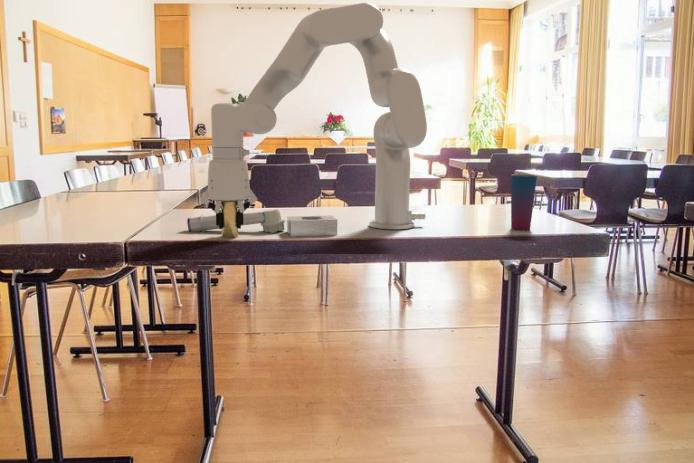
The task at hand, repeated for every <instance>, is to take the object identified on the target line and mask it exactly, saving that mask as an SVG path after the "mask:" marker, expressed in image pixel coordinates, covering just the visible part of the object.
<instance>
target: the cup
mask: <svg viewBox="0 0 694 463" xmlns="http://www.w3.org/2000/svg"><path fill="white" fill-rule="evenodd" d="M537 179H538V175H537V174H529V173H527V174H526V173H520V174H519V173H516V174H514V173H513V174H511V175H510V189H511V190H510V199H511V200H510V215H511V216H510V218H511V219H510V223H511V224H510V229H511V230H513V229H514V230H513V231H518V230H528V231H530V230H531V224H532V217H533V210H534V204H535V202H534V201H535V194H536V187H537Z"/></svg>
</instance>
